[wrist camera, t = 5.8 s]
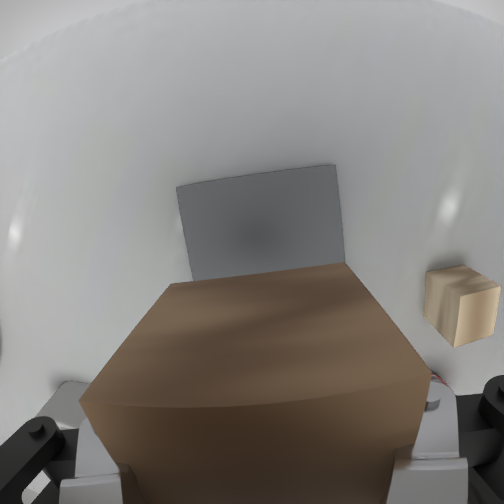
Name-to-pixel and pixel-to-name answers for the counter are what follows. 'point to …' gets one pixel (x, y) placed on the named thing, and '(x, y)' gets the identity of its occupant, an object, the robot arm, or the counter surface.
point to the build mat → (262, 222)
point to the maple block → (461, 304)
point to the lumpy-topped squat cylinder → (66, 405)
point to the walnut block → (261, 392)
